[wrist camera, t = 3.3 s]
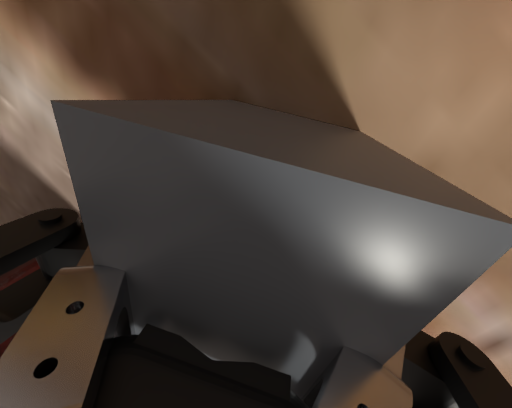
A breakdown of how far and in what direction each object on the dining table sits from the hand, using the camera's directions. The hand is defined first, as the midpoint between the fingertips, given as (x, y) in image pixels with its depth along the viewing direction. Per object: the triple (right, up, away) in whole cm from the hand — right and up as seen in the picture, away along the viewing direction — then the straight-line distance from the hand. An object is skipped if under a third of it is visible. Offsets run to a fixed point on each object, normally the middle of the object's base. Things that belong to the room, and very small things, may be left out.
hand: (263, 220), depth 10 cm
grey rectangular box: (+1, +1, +2) cm, 2 cm away
